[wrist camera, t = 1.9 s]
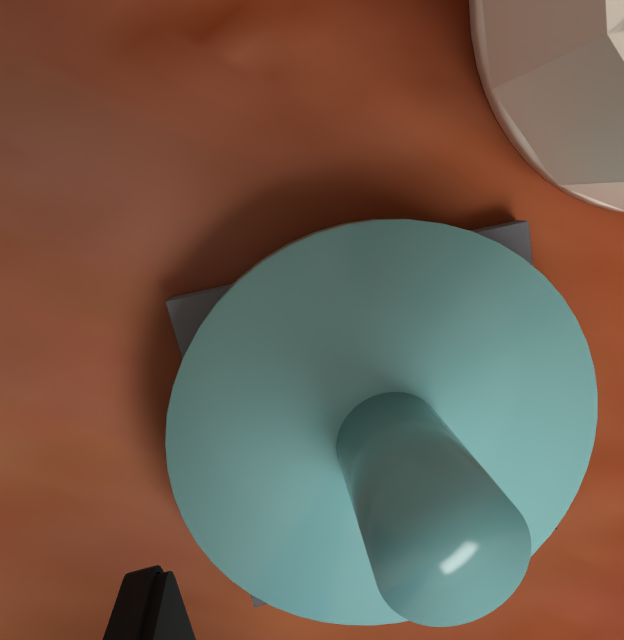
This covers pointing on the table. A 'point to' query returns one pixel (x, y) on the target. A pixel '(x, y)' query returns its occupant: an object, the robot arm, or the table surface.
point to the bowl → (558, 88)
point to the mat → (198, 304)
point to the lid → (382, 424)
